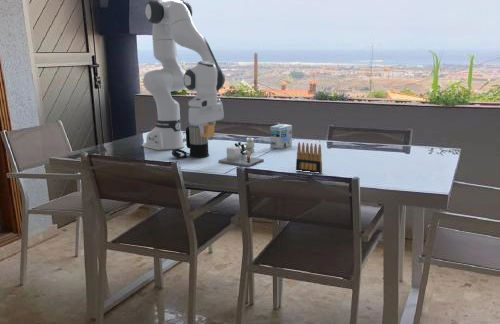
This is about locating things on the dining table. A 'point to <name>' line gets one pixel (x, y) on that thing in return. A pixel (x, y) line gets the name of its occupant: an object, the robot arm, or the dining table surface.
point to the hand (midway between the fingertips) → (207, 132)
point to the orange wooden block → (208, 130)
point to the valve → (246, 146)
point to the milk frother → (193, 144)
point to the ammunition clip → (309, 158)
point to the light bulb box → (281, 136)
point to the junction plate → (239, 158)
